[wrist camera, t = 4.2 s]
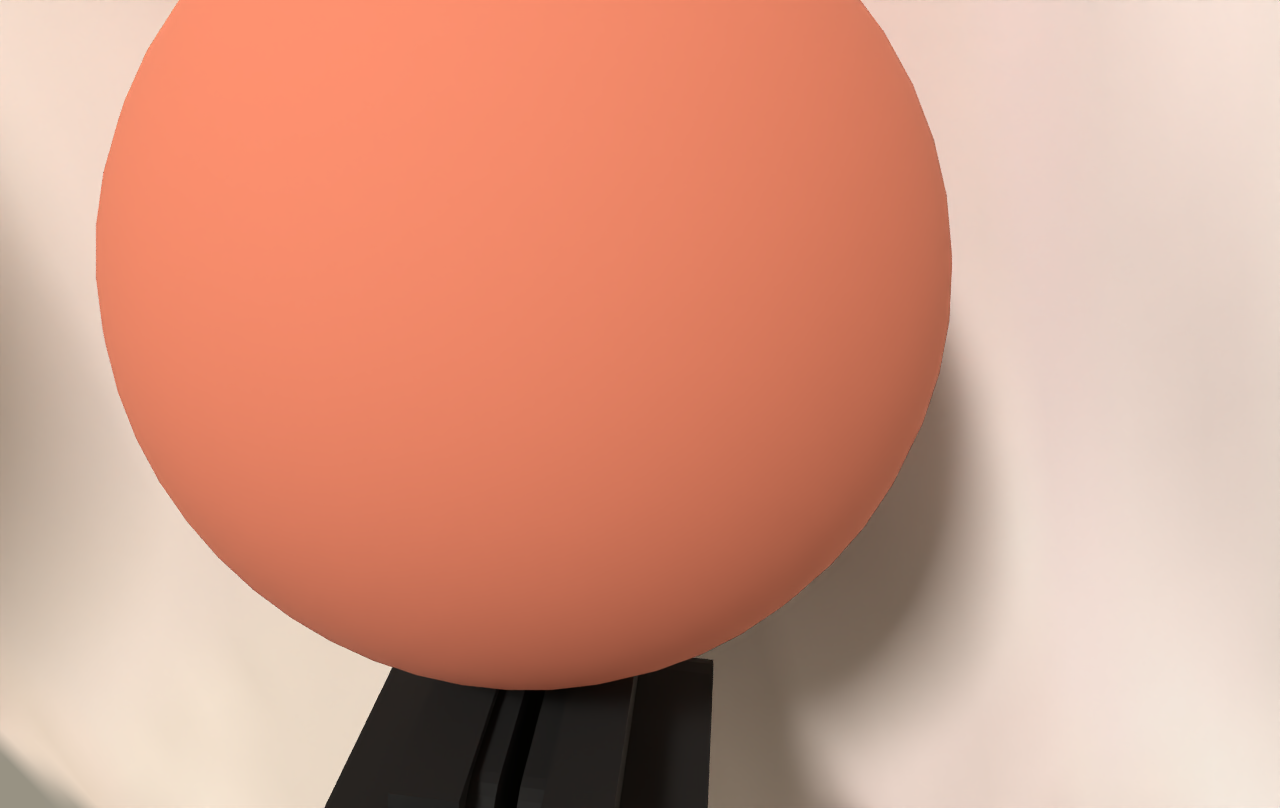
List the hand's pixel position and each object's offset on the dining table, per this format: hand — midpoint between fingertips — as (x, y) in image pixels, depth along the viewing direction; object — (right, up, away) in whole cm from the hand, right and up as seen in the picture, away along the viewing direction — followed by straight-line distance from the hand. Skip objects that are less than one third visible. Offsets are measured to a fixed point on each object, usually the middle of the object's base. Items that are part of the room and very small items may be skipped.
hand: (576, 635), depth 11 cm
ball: (0, +3, -3) cm, 5 cm away
